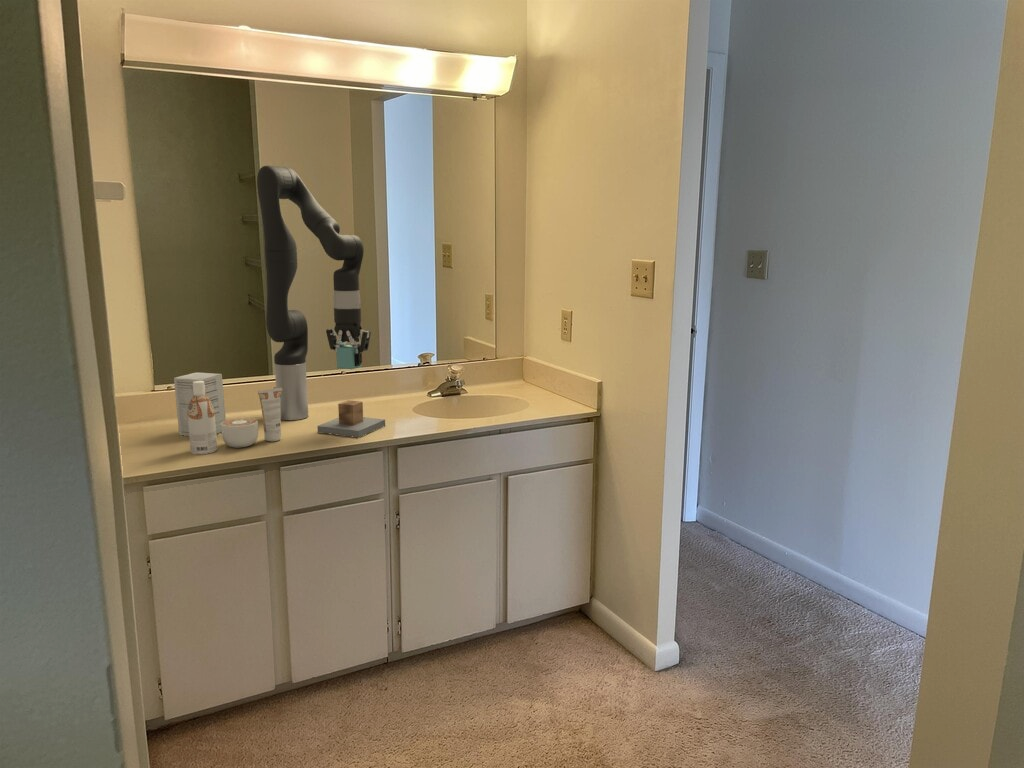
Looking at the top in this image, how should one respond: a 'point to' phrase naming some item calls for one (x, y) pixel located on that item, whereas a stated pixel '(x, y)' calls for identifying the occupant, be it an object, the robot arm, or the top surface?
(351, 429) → the slate base
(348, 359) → the teal block
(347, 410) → the walnut block
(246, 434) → the cosmetic set
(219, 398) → the supplement box
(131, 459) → the top surface
